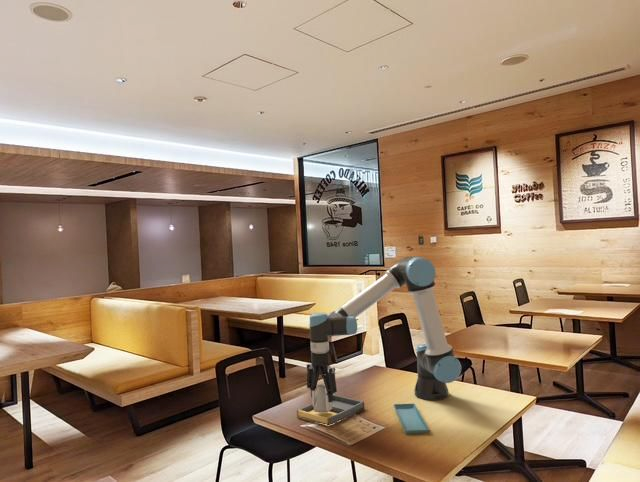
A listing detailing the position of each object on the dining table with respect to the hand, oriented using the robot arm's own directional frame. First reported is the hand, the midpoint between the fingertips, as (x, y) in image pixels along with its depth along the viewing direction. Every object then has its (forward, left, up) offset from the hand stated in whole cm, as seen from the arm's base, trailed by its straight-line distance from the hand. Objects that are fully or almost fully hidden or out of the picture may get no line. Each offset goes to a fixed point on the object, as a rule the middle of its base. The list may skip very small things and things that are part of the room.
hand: (322, 407), depth 186 cm
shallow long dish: (-31, -17, -5) cm, 35 cm away
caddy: (0, -6, -4) cm, 7 cm away
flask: (0, 0, -1) cm, 1 cm away
